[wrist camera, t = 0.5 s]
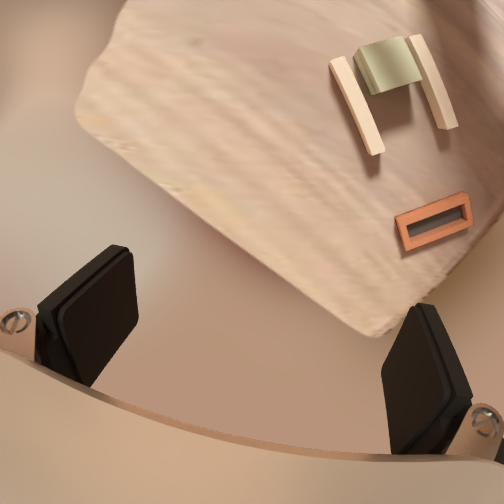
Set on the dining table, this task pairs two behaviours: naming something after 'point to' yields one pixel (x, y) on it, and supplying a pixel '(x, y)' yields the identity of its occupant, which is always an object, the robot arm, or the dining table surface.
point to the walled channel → (430, 82)
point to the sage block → (387, 65)
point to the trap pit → (434, 220)
